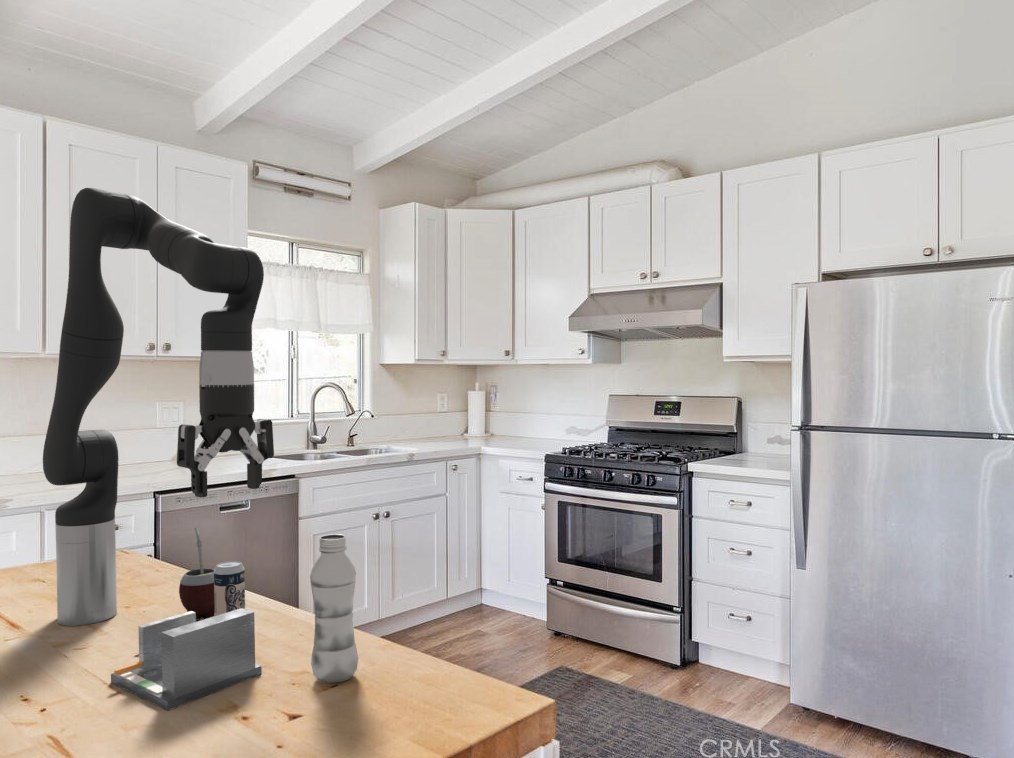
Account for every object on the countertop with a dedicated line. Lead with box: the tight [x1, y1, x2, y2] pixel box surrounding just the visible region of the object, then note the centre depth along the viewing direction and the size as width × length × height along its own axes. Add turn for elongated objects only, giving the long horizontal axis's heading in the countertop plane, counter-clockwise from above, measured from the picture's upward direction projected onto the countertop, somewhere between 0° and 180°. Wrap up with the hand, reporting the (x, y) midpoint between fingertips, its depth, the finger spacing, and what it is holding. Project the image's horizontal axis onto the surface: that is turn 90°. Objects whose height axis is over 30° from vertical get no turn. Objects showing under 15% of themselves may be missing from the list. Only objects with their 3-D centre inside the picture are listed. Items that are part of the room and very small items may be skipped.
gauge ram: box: [113, 611, 197, 675], centre depth 107 cm, size 2×12×6 cm, turn 143°
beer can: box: [214, 560, 246, 616], centre depth 122 cm, size 5×5×12 cm
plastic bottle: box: [309, 533, 359, 684], centre depth 105 cm, size 6×7×20 cm
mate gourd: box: [178, 526, 215, 621], centre depth 133 cm, size 8×8×15 cm
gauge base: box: [110, 608, 263, 712], centre depth 106 cm, size 15×14×9 cm
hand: (227, 492), depth 110 cm, fingers open, 8 cm apart
